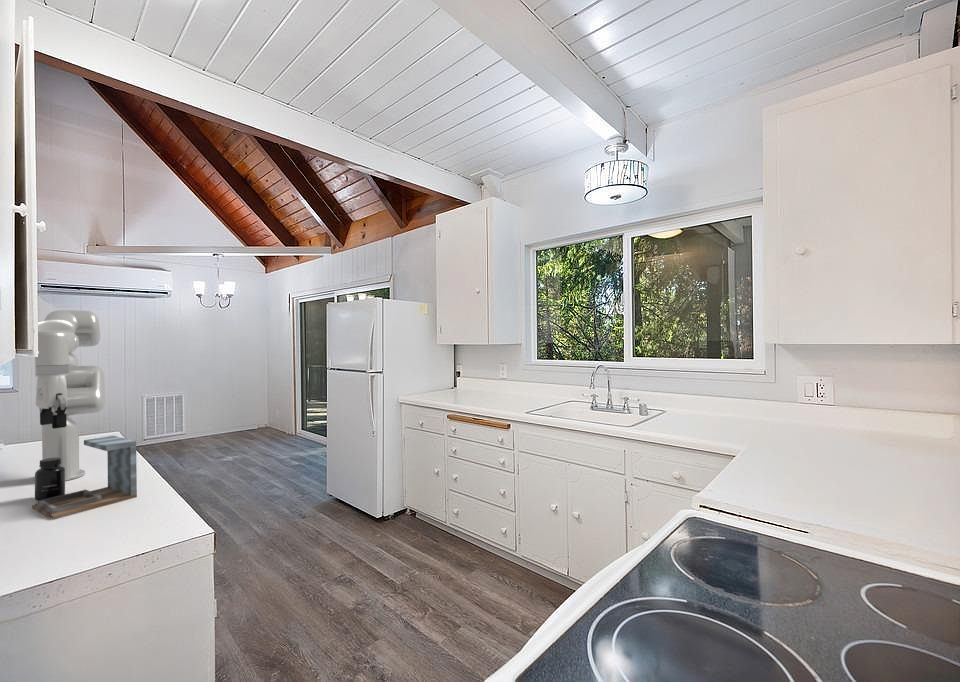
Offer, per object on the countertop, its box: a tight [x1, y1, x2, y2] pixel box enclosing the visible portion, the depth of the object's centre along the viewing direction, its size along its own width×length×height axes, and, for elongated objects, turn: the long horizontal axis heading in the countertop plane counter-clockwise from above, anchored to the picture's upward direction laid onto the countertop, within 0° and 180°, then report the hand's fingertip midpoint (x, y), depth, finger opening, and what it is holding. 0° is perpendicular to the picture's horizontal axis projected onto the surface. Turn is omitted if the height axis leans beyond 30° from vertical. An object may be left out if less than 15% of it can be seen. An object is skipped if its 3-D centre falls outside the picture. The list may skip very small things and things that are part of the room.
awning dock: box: [31, 435, 138, 520], centre depth 133 cm, size 16×20×18 cm
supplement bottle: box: [34, 458, 66, 502], centre depth 138 cm, size 7×7×12 cm
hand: (53, 425), depth 137 cm, fingers open, 9 cm apart
